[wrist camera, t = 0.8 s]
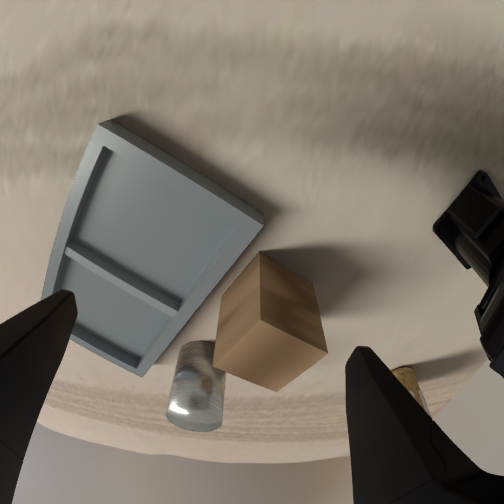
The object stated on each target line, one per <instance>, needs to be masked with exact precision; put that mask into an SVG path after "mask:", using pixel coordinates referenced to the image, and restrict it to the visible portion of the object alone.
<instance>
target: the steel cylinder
mask: <svg viewBox="0 0 504 504" xmlns="http://www.w3.org/2000/svg"><path fill="white" fill-rule="evenodd" d="M214 350H215V344H213V343H210V342H206V341H192V342H189V343H186V344H185V345H183V346H182V347H181V349H180V352H179V356H178V360H177V365H176V369H175V373H174V378H173V382H172V387H171V392H170V396H169V401H168V406H167V410H166V417H167V419H168V420H169V421H170V422H171V423H172V424H174V425H176V426H178V427H180V428H183V429H186V430H190V431H196V432H208V431H213V430H216V429H218V428H219V427H220V426H221V425H222V416H223V404H224V392H225V381H226V372H225V371H223V370H220V369H218V368H216V367H213V358H214Z"/></svg>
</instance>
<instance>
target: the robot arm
mask: <svg viewBox="0 0 504 504" xmlns="http://www.w3.org/2000/svg"><path fill="white" fill-rule="evenodd" d="M482 175H483V177H482ZM481 177H482V179H481ZM439 227H440V229H439V230H438V228H439ZM433 231H434V233H435V234H436V235H437V236H438V237H439V238H440V239H441V240H442V241H443V243H444V244H445V245H446V246H447V247H448V248H449V249H450V251H451V252H452V253H453V254H454V255H455V256H456V257H457V259H458V260H459V261H460V262H461V263H462V265H463V266H464V267H465V268H466V269H470V268H471V267H472V268H473V269H474V271H475V272H476V273H477V274H478V275H479V277H480V278H481V279H482V280H483V281H484V283H485V284H486V285H487V286H488V289H487V291H486V293H485V294H484V296H483V298H482V300H481V302H480V304H479V305H477V307H476V309H475V311H474V313H475V316H476V320H477V323H478V326H479V330H480V333H481V337H480V342H481V344H482V346H483V349H484V351H485V352H486V355H487V357H488V359H489V360H490V361H491V363H490V368H492V369H493V370H494V371H496V372H497V373H499V374H500V375H501V376H502V377H503V378H504V201H503V199H502V198H501V196H500V194H499V192H498V191H497V189H496V187H495V186H494V184H493V183H492V181H491V179H490V178H489V176H488V175H487V173H486V172H484V171H483V170H480V171H478V172H477V173H476V175H475V176H474V177H473V179H472V180H471V181H470V182H469V184H468V185H467V186H466V187H465V188H464V190H463V191H462V192H461V193H460V195H459V196H458V197H457V198H456V199H455V201H454V202H453V203H452V204H451V205H450V206H449V208H448V209H447V210H446V211H445V212H444V213H443V215H442V216H441V217H440V218H439V219H438V220H437V221H436V223H435V224H434V225H433ZM77 316H78V309H77V304H76V299H75V294H74V293H73V292H72V291H69V290H65V289H61V290H59V291H57V292H55V293H54V294H52V295H50V296H48V297H46V298H45V299H43V300H41V301H39V302H38V303H36V304H34V305H32V306H30V307H29V308H27V309H25V310H24V311H22V312H20V313H18V314H17V315H15V316H13V317H12V318H10V319H8V320H6V321H5V322H3V323H1V324H0V504H12V500H13V496H14V492H15V488H16V484H17V481H18V477H19V474H20V470H21V467H22V464H23V460H24V457H25V453H26V450H27V447H28V444H29V441H30V438H31V435H32V433H33V430H34V427H35V424H36V421H37V419H38V416H39V413H40V411H41V408H42V406H43V403H44V401H45V398H46V396H47V393H48V391H49V388H50V386H51V384H52V381H53V379H54V377H55V374H56V372H57V370H58V368H59V365H60V363H61V361H62V358H63V356H64V353H65V350H66V347H67V344H68V342H69V339H70V336H71V333H72V330H73V327H74V325H75V322H76V319H77ZM345 374H346V415H347V424H348V434H349V445H350V456H351V469H352V483H353V499H354V504H504V476H499V475H494V474H490V473H487V472H485V471H483V470H482V469H480V468H479V467H478V466H477V465H476V464H475V463H474V462H473V461H471V459H469V457H467V456H466V455H465V454H464V453H463V452H462V451H461V450H460V449H459V448H458V447H457V446H456V445H455V444H454V443H453V442H452V440H450V439H449V437H448V436H447V435H446V434H445V433H444V432H443V431H442V430H441V428H440V427H439V426H438V425H437V424H436V423H435V421H432V418H431V417H430V416H429V414H428V413H427V412H426V411H425V410H424V409H423V407H422V406H421V405H420V404H419V403H418V402H417V400H416V399H415V398H414V397H413V396H412V395H411V394H410V392H409V391H408V390H407V389H406V388H405V387H404V385H403V384H402V383H401V382H400V381H399V380H398V379H397V377H396V376H395V375H394V374H393V373H392V372H391V371H390V369H389V368H388V367H387V366H386V365H385V364H384V363H383V362H382V360H381V359H380V358H379V357H378V356H377V355H376V354H375V353H374V351H373V350H372V349H371V348H370V347H367V346H357V347H356V348H355V350H354V351H353V353H352V354H351V356H350V358H349V359H348V361H347V363H346V367H345Z"/></svg>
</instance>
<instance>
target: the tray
mask: <svg viewBox="0 0 504 504" xmlns="http://www.w3.org/2000/svg"><path fill="white" fill-rule="evenodd" d="M263 226H264V223H263V213H261V212H260V211H258V210H257V209H255V208H253V207H252V206H250V205H249V204H247V203H246V202H244V201H243V200H241V199H240V198H238V197H236V196H235V195H233V194H232V193H230V192H229V191H227V190H225V189H224V188H222V187H221V186H219V185H218V184H216V183H214V182H213V181H211V180H210V179H208V178H206V177H205V176H203V175H202V174H200V173H198V172H197V171H195V170H194V169H192V168H190V167H189V166H187V165H185V164H184V163H182V162H181V161H179V160H177V159H176V158H174V157H172V156H171V155H169V154H167V153H166V152H164V151H163V150H161V149H159V148H158V147H156V146H154V145H153V144H151V143H149V142H148V141H146V140H144V139H142V138H141V137H139V136H137V135H136V134H134V133H132V132H131V131H129V130H127V129H126V128H124V127H122V126H120V125H119V124H117V123H115V122H113V121H112V120H107V121H104V122H101V123H99V124H97V126H96V128H95V130H94V133H93V135H92V137H91V139H90V142H89V144H88V146H87V149H86V151H85V153H84V156H83V158H82V161H81V163H80V166H79V168H78V171H77V173H76V176H75V179H74V181H73V184H72V187H71V190H70V193H69V195H68V198H67V201H66V204H65V207H64V210H63V214H62V217H61V220H60V223H59V227H58V230H57V233H56V237H55V241H54V244H53V248H52V252H51V256H50V260H49V264H48V268H47V273H46V277H45V282H44V287H43V292H42V297H41V300H43V299H45V298H46V297H48V296H50V295H52V294H54V293H55V292H57V291H59V290H61V289H65V290H69V291H72V292H73V293H74V294H75V299H76V304H77V309H78V316H77V319H76V322H75V325H74V327H73V330H72V333H71V336H70V339H71V340H72V341H74V342H76V343H78V344H79V345H81V346H83V347H84V348H86V349H88V350H90V351H92V352H93V353H95V354H97V355H99V356H101V357H103V358H104V359H106V360H108V361H110V362H112V363H114V364H116V365H118V366H120V367H122V368H124V369H126V370H128V371H130V372H132V373H134V374H136V375H138V376H140V377H142V378H143V376H144V375H145V374H146V373H147V371H148V370H149V369H150V367H151V366H152V365H153V364H154V362H155V361H156V360H157V359H158V357H159V356H160V355H161V354H162V352H163V351H164V350H165V349H166V347H167V346H168V345H169V343H170V342H171V341H172V340H173V338H174V337H175V336H176V335H177V333H178V332H179V331H180V330H181V328H182V327H183V326H184V325H185V323H186V322H187V321H188V320H189V318H190V317H191V316H192V315H193V313H194V312H195V311H196V310H197V308H198V307H199V306H200V304H201V303H202V302H203V301H204V299H205V298H206V297H207V296H208V294H209V293H210V292H211V291H212V289H213V288H214V287H215V286H216V284H217V283H218V282H219V281H220V279H221V278H222V277H223V276H224V274H225V273H226V272H227V271H228V269H229V268H230V267H231V266H232V265H233V263H234V262H235V261H236V260H237V258H238V257H239V256H240V255H241V253H242V252H243V251H244V250H245V248H246V247H247V246H248V245H249V243H250V242H251V241H252V240H253V238H254V237H255V236H256V235H257V233H258V232H259V231H260V230H261V228H262V227H263Z"/></svg>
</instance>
